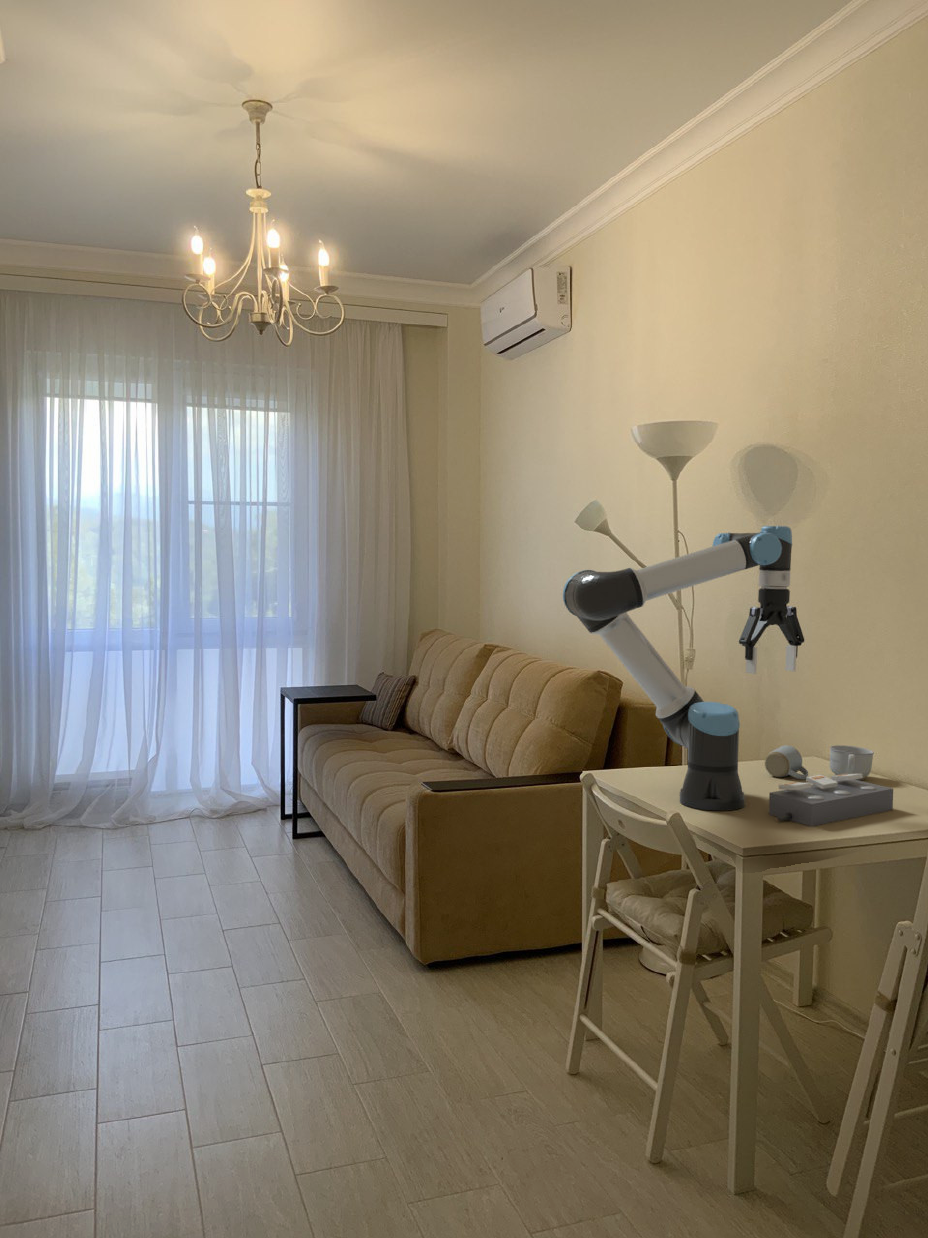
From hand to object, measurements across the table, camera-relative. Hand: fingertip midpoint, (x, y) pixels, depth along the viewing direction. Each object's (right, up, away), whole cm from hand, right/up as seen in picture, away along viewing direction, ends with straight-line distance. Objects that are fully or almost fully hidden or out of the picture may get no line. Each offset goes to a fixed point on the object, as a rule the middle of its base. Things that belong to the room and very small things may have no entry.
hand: (770, 672), depth 258 cm
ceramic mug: (+9, -29, +16) cm, 34 cm away
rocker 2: (+6, -25, -19) cm, 32 cm away
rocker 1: (-2, -25, -24) cm, 35 cm away
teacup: (+24, -29, +12) cm, 40 cm away
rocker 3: (+14, -24, -15) cm, 32 cm away
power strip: (+6, -31, -22) cm, 39 cm away
